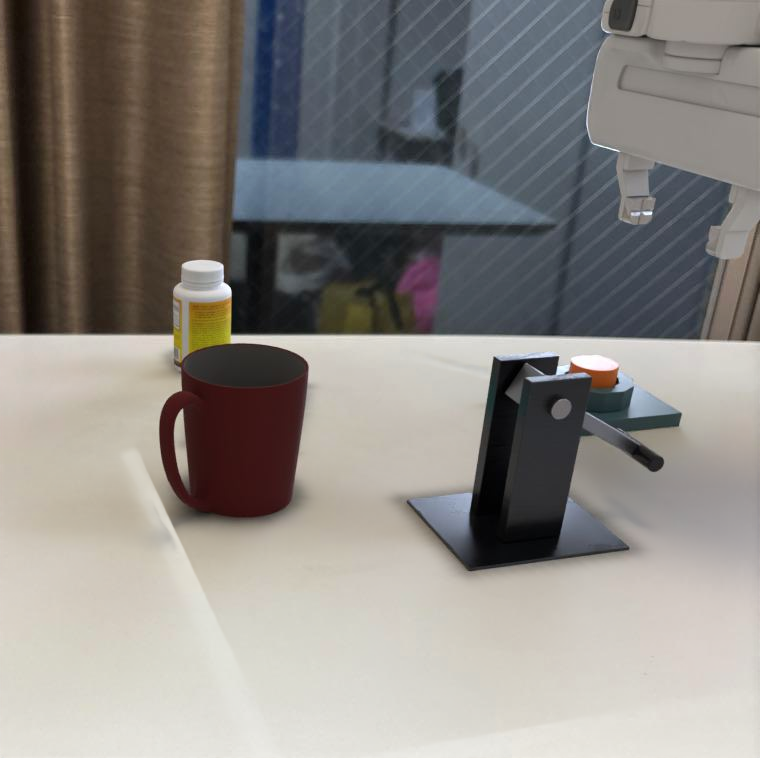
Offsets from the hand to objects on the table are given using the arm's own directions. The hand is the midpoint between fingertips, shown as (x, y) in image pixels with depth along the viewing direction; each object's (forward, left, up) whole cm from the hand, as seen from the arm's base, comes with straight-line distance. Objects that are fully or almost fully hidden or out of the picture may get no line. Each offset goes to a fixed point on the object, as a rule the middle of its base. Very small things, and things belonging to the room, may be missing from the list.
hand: (675, 238), depth 70 cm
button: (+7, -13, -16) cm, 22 cm away
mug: (+22, +21, -20) cm, 36 cm away
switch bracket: (+4, +11, -20) cm, 23 cm away
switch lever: (+2, +9, -12) cm, 15 cm away
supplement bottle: (+42, -1, -20) cm, 46 cm away
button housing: (+8, -13, -20) cm, 25 cm away
